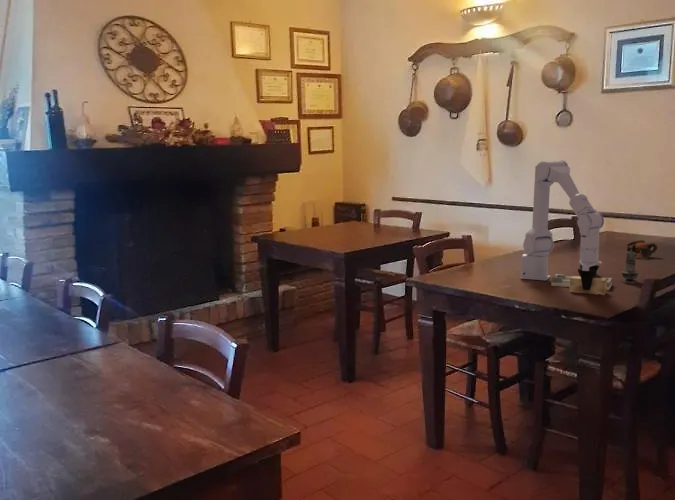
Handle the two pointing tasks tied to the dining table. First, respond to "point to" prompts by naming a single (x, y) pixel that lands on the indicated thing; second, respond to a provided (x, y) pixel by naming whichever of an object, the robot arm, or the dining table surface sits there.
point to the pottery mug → (642, 248)
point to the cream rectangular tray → (565, 281)
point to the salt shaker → (630, 269)
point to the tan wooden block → (596, 286)
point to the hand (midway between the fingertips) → (587, 288)
